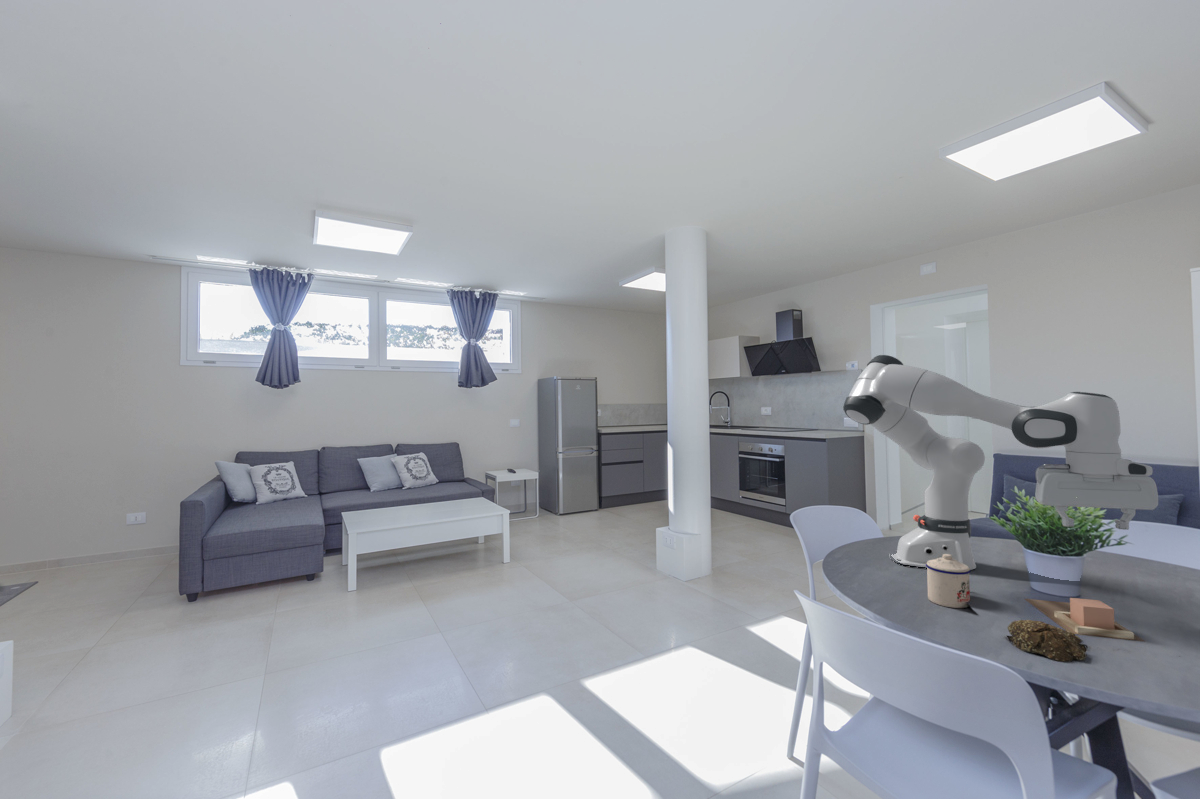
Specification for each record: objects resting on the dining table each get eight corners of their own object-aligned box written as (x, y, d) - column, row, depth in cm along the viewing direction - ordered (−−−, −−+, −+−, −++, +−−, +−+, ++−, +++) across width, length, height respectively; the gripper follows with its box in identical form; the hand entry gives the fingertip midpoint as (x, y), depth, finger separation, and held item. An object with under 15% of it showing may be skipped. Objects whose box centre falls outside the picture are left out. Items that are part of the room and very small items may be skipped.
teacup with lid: (966, 612, 118) (965, 562, 119) (922, 601, 125) (921, 554, 125) (977, 598, 127) (976, 552, 127) (935, 589, 133) (933, 545, 133)
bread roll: (1006, 628, 110) (1006, 605, 110) (1085, 645, 102) (1084, 620, 102) (1004, 650, 100) (1004, 625, 100) (1091, 671, 92) (1090, 643, 92)
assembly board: (1070, 640, 104) (1069, 627, 104) (1024, 604, 122) (1023, 593, 122) (1145, 649, 100) (1145, 635, 100) (1086, 610, 119) (1085, 599, 119)
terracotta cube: (1084, 630, 105) (1083, 606, 105) (1070, 620, 110) (1069, 597, 110) (1114, 633, 103) (1113, 609, 103) (1099, 623, 108) (1098, 600, 108)
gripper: (1042, 465, 112) (1044, 527, 112) (1162, 467, 105) (1164, 534, 105) (1028, 462, 118) (1030, 521, 118) (1141, 464, 111) (1143, 527, 111)
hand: (1094, 527), depth 111 cm, fingers open, 8 cm apart
